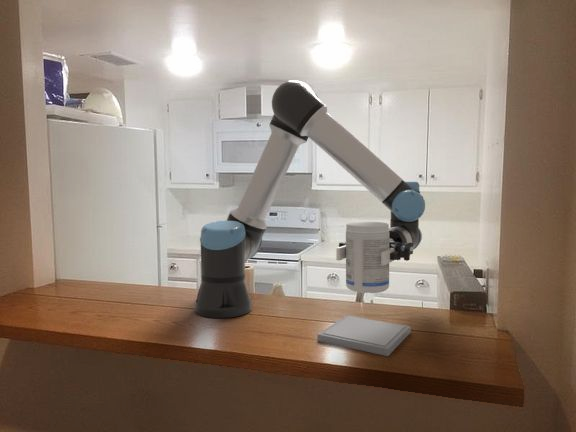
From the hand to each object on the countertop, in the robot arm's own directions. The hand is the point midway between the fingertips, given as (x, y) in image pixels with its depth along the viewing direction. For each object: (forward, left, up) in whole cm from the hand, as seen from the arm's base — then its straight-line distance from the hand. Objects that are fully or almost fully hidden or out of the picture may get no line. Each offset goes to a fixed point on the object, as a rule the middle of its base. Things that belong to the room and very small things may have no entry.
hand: (359, 256), depth 97 cm
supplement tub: (0, +4, -8) cm, 9 cm away
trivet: (0, +4, -19) cm, 20 cm away
